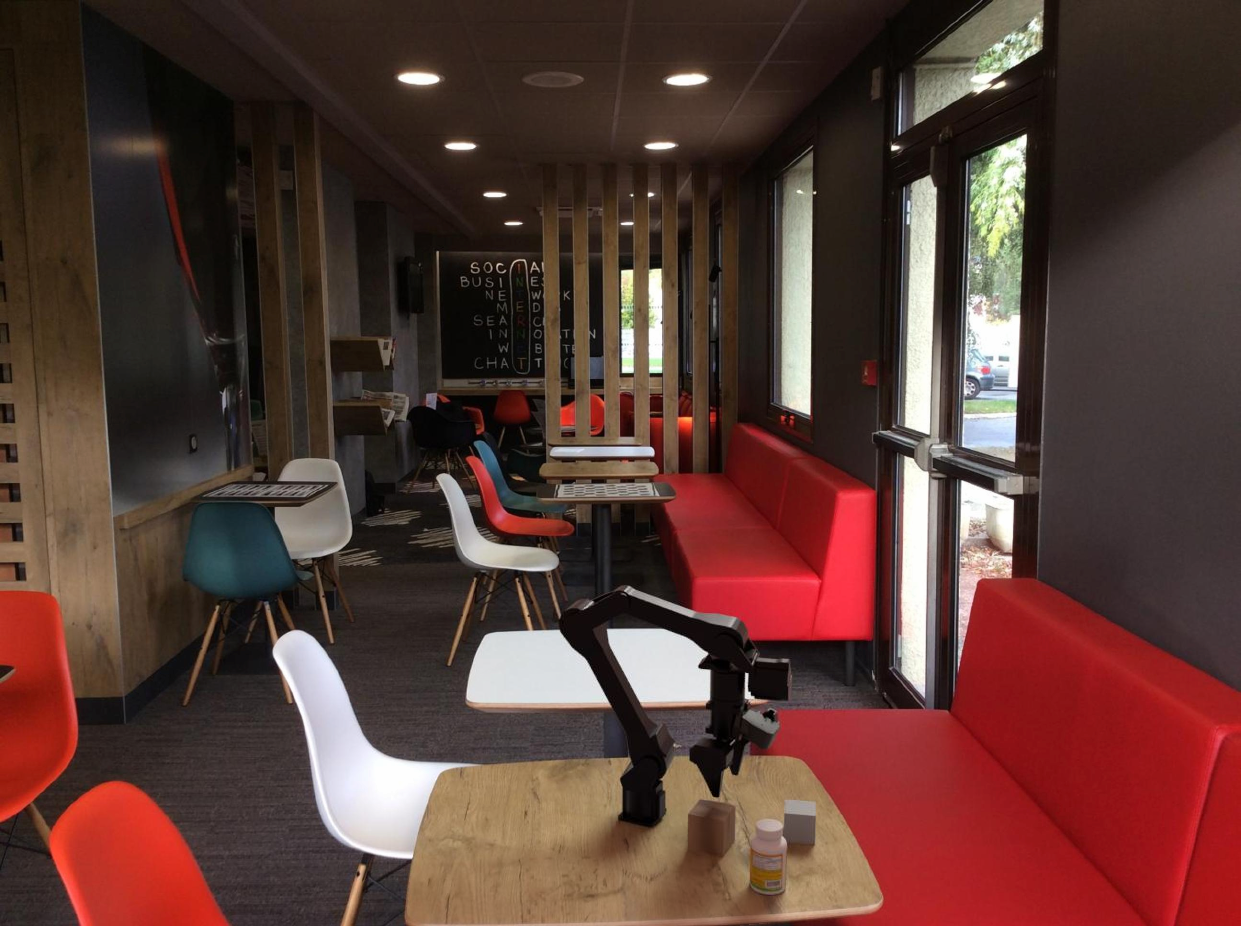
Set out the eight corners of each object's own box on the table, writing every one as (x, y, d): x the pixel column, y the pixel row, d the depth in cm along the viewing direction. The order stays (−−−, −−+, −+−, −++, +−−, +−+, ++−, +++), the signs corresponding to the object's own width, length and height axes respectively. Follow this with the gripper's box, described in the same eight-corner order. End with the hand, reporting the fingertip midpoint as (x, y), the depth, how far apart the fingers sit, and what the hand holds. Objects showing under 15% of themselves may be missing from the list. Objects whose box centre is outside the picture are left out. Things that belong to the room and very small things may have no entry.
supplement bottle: (761, 872, 159) (763, 812, 158) (792, 884, 156) (794, 823, 154) (742, 887, 155) (743, 825, 154) (774, 899, 152) (775, 837, 150)
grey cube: (783, 842, 169) (784, 812, 168) (784, 827, 173) (785, 799, 173) (814, 844, 168) (815, 815, 167) (815, 830, 173) (815, 801, 172)
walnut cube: (700, 832, 172) (687, 849, 166) (700, 797, 171) (688, 813, 165) (735, 839, 169) (723, 857, 164) (735, 804, 168) (723, 821, 163)
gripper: (756, 723, 159) (754, 819, 161) (791, 685, 175) (789, 773, 177) (688, 711, 163) (687, 805, 165) (728, 675, 180) (727, 760, 182)
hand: (725, 785), depth 172 cm, fingers open, 9 cm apart
